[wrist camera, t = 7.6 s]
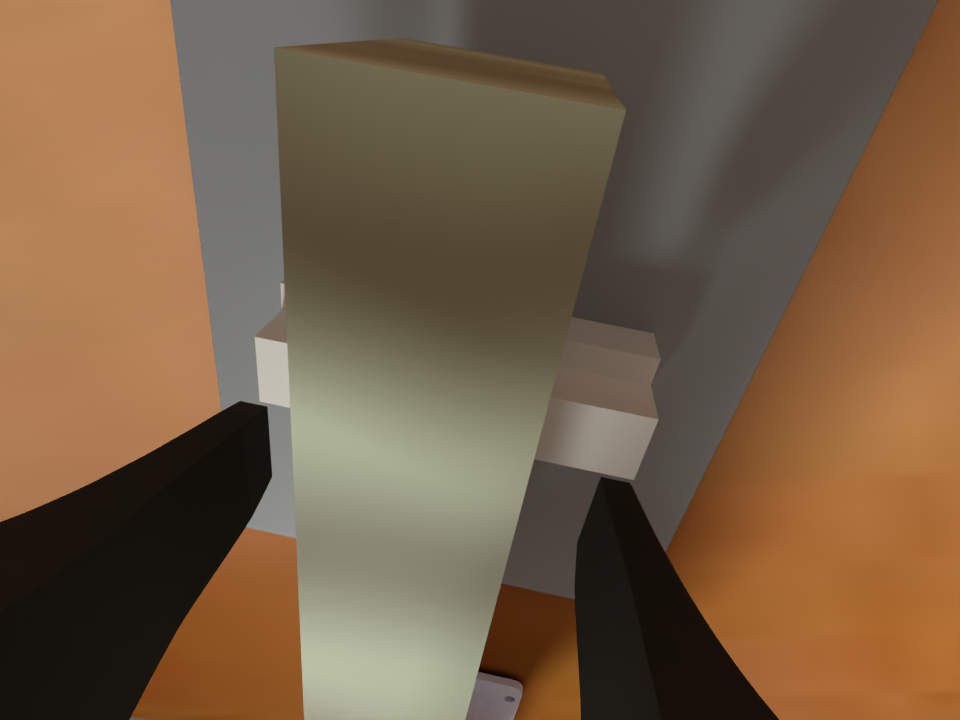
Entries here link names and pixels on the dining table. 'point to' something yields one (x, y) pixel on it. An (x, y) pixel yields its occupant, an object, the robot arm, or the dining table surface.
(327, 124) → the bar
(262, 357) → the stand
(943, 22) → the dining table surface
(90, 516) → the robot arm
